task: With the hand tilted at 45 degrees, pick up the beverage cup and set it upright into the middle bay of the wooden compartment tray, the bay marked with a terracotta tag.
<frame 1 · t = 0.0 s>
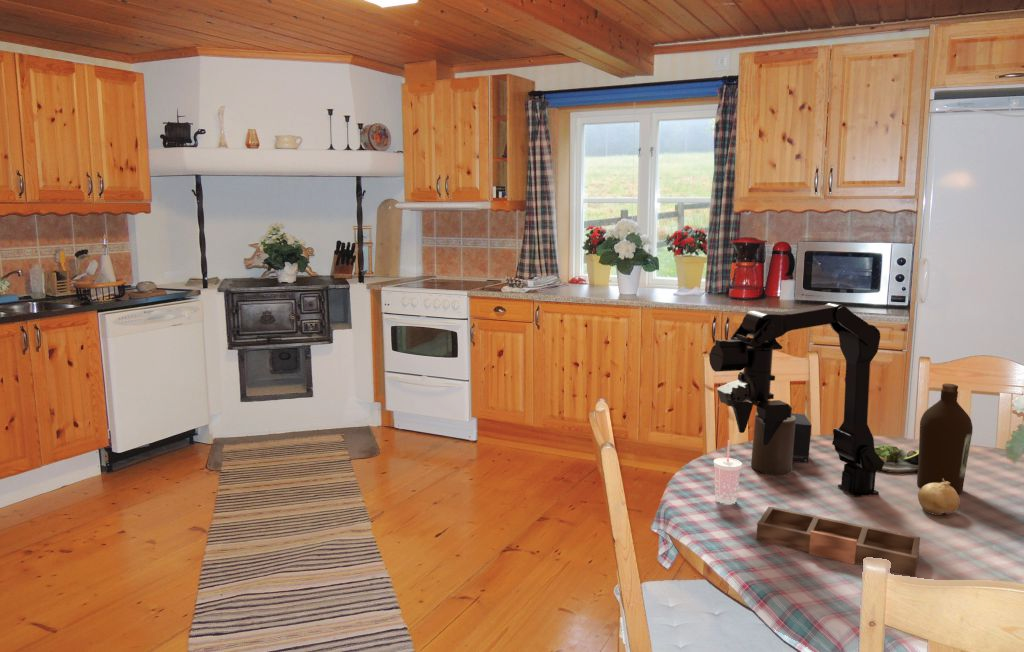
hand: (752, 438, 168), 15 cm above the table, tool pointing down, fingers open, 9 cm apart
salad plate: (891, 464, 197), on the table
beverage cup: (725, 501, 171), on the table
wooden compartment tray: (835, 547, 148), on the table
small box: (793, 457, 201), on the table
onion: (937, 512, 166), on the table
olive oil: (939, 489, 179), on the table
pillar candle: (771, 469, 192), on the table
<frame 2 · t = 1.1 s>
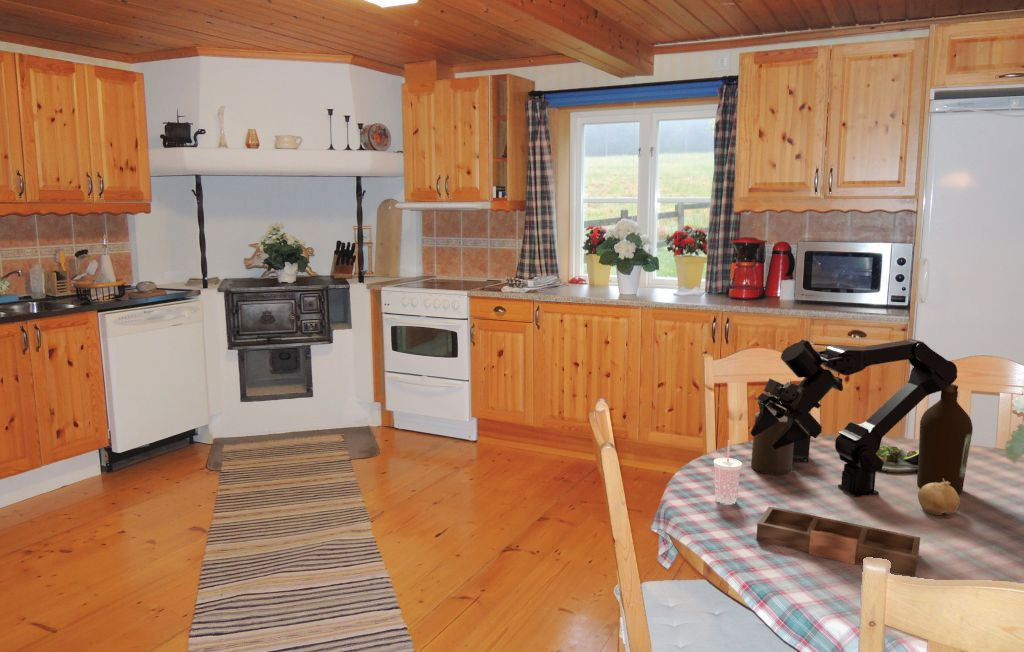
hand: (762, 441, 170), 13 cm above the table, tool tilted 45°, fingers open, 9 cm apart
nothing on the table moved.
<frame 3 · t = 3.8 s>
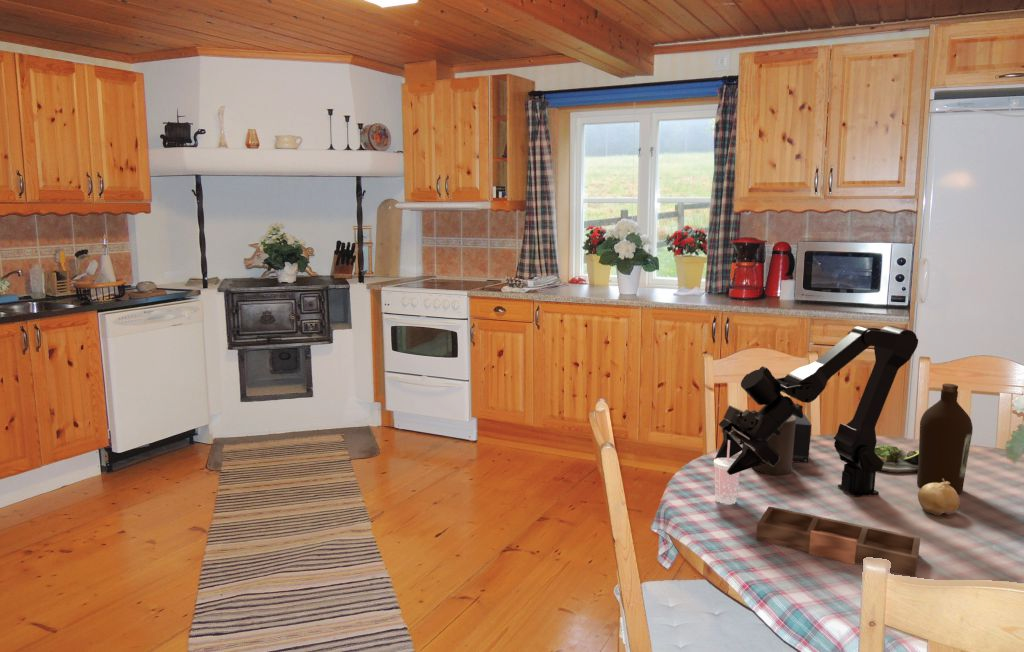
hand: (721, 468, 170), 8 cm above the table, tool tilted 45°, fingers closed on beverage cup, 6 cm apart
beverage cup: (725, 501, 171), on the table, touching gripper
everything else where it was.
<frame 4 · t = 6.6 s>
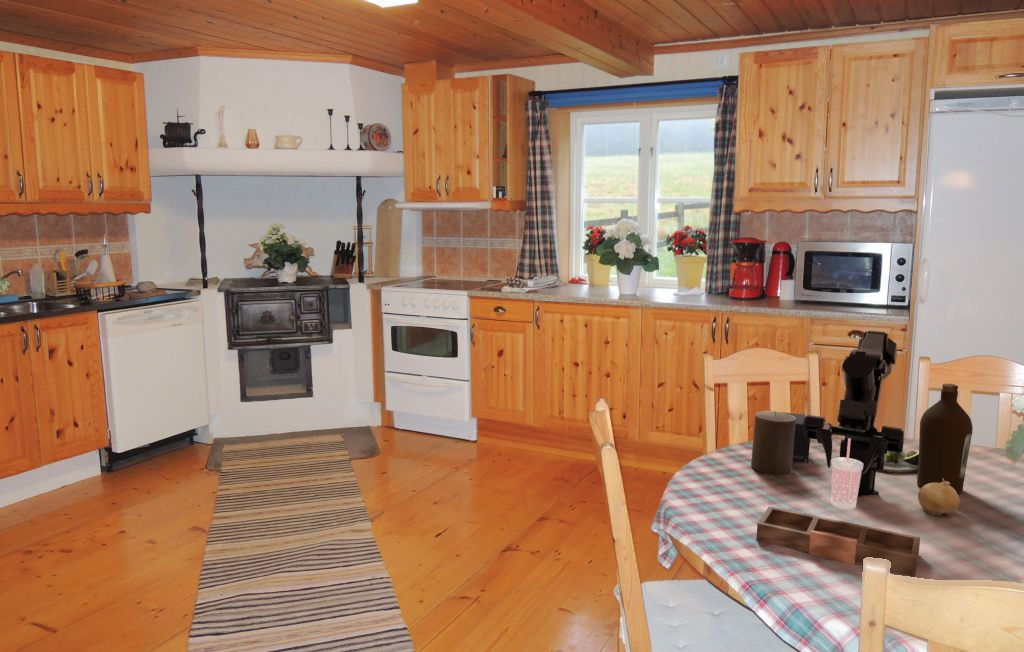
hand: (845, 470, 153), 13 cm above the table, tool tilted 45°, fingers closed on beverage cup, 6 cm apart
beverage cup: (843, 505, 155), point 5 cm above the table, touching gripper
everything else where it was.
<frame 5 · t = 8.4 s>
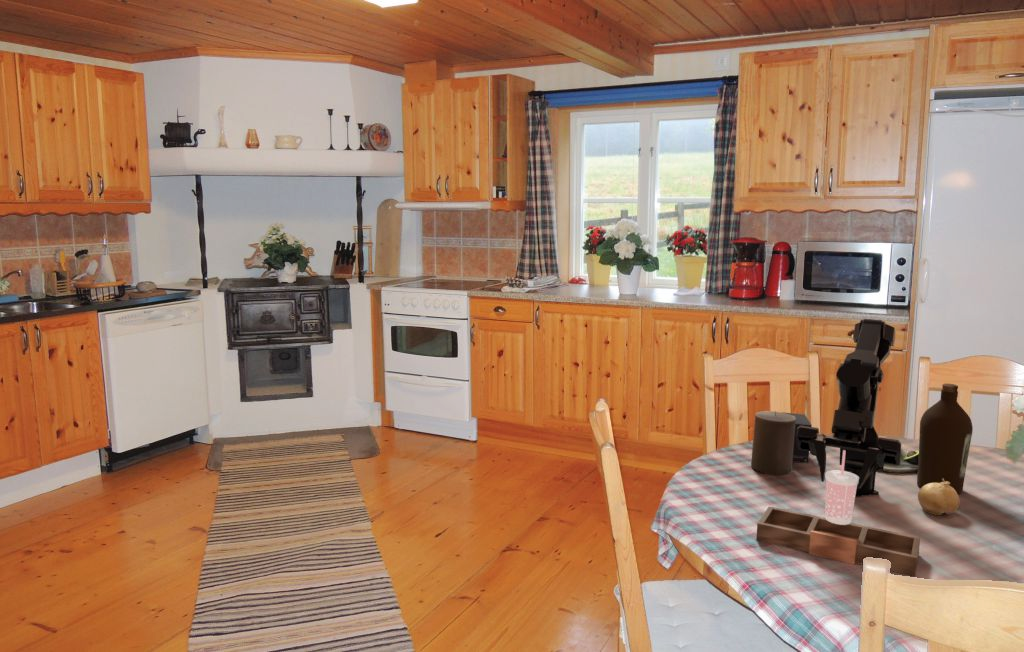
hand: (840, 484, 145), 13 cm above the table, tool tilted 45°, fingers closed on beverage cup, 6 cm apart
beverage cup: (837, 520, 148), point 5 cm above the table, touching gripper
everything else where it was.
when the fingers open (10 cm above the table, at t = 9.7 s): beverage cup stays where it is, resting on wooden compartment tray.
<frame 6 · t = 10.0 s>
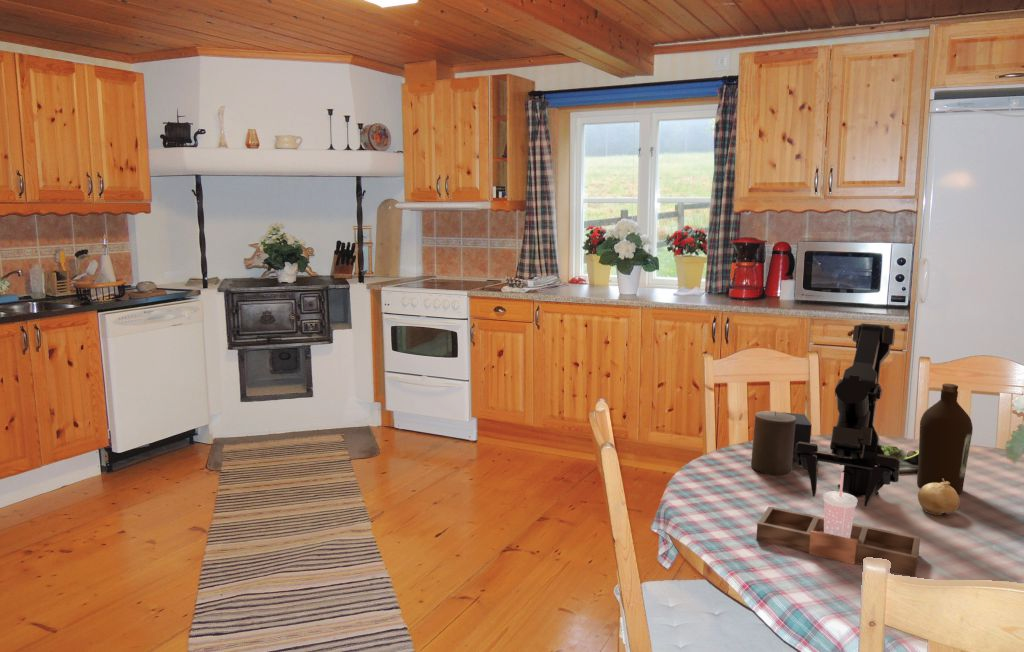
hand: (839, 500, 146), 10 cm above the table, tool tilted 45°, fingers open, 9 cm apart
beverage cup: (836, 541, 148), point 1 cm above the table, touching wooden compartment tray
everything else where it was.
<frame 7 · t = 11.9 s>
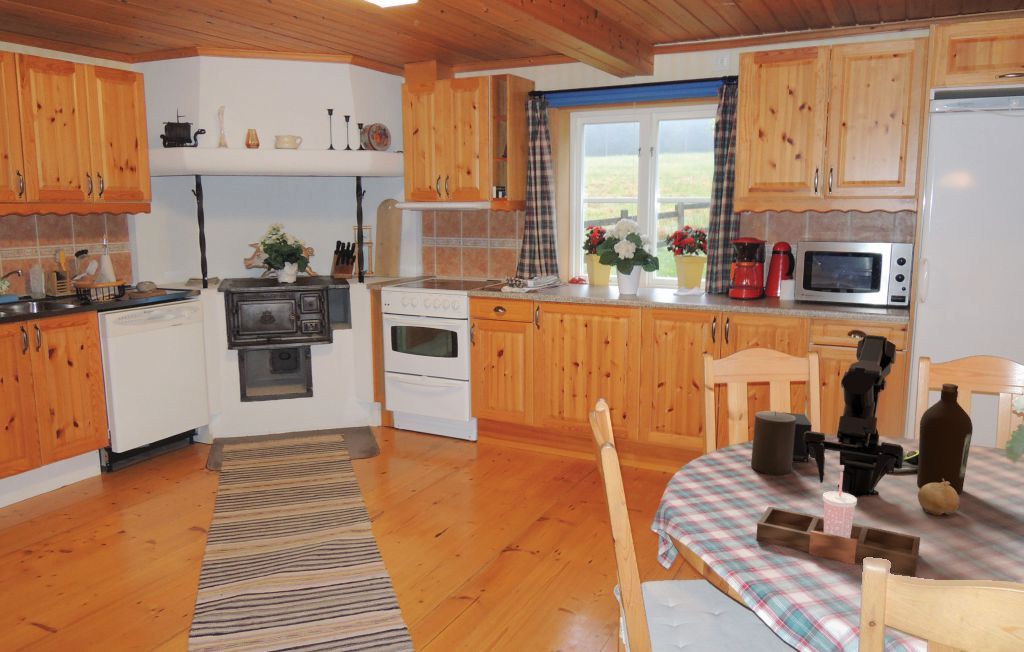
hand: (845, 486, 153), 10 cm above the table, tool tilted 45°, fingers open, 9 cm apart
nothing on the table moved.
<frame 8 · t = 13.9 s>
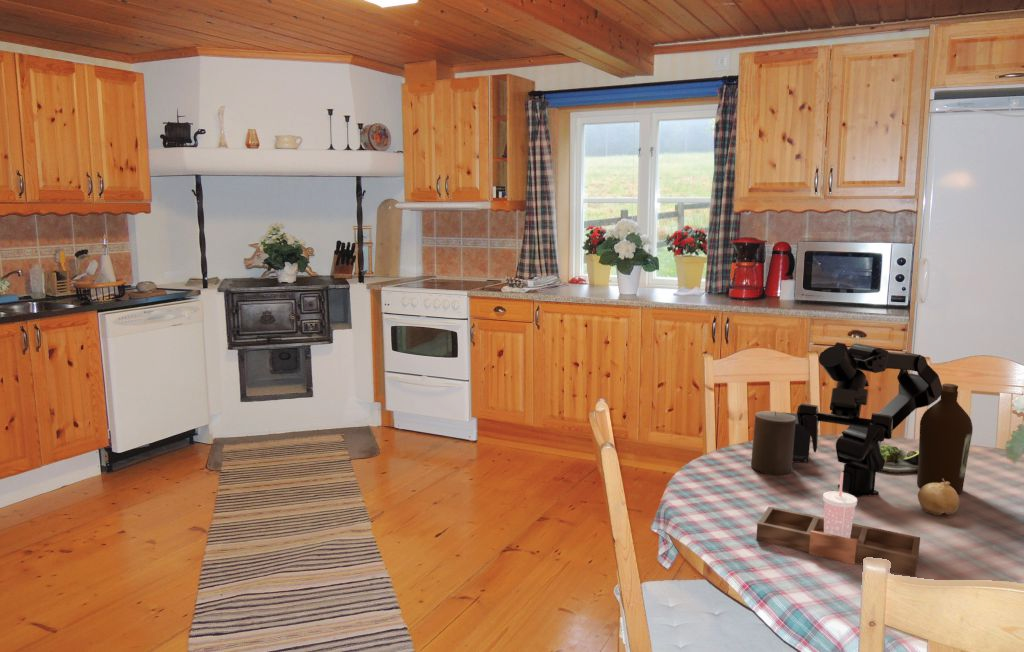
hand: (837, 455, 161), 14 cm above the table, tool tilted 45°, fingers open, 9 cm apart
nothing on the table moved.
at the end: beverage cup 0.1 cm off-centre on the wooden compartment tray, point 1.0 cm above the wooden compartment tray's base; beverage cup tilted 0°; the gripper is holding nothing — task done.
